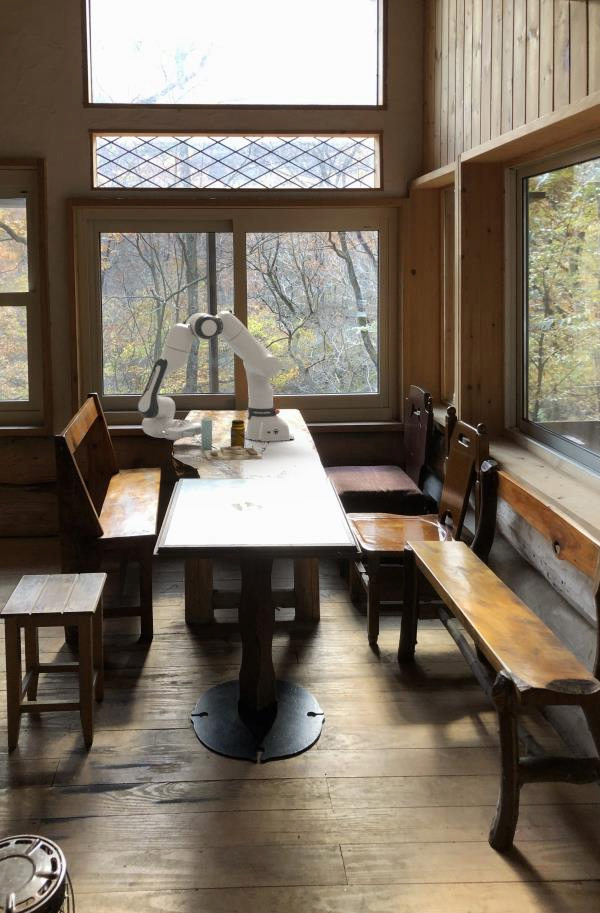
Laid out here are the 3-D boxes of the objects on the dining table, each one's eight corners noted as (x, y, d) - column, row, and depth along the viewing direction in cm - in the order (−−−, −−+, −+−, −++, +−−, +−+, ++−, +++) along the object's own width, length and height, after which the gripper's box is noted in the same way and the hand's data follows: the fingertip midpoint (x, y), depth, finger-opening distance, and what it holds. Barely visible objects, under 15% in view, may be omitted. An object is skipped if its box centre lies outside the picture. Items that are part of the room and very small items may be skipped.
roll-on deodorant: (211, 449, 389) (211, 414, 386) (212, 451, 384) (212, 416, 381) (200, 449, 388) (201, 415, 385) (202, 451, 383) (202, 416, 380)
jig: (255, 452, 385) (255, 445, 385) (261, 458, 373) (261, 451, 372) (203, 453, 380) (203, 446, 380) (208, 459, 368) (208, 452, 367)
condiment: (248, 449, 392) (248, 421, 390) (231, 450, 388) (231, 422, 385) (239, 445, 398) (240, 418, 396) (222, 447, 393) (223, 420, 391)
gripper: (158, 425, 384) (184, 429, 377) (189, 419, 401) (214, 422, 394) (158, 440, 385) (184, 444, 378) (189, 433, 403) (214, 437, 395)
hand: (200, 433), depth 386 cm, fingers open, 8 cm apart
